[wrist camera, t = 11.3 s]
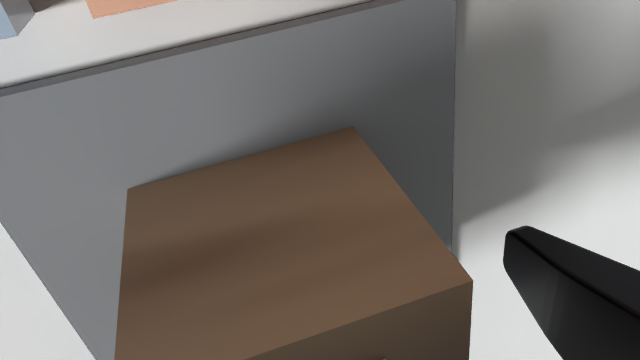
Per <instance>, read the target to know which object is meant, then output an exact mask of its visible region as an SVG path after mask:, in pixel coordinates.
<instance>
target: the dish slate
mask: <svg viewBox="0 0 640 360" xmlns="http://www.w3.org/2000/svg"><path fill="white" fill-rule="evenodd" d="M34 15H35V13H34V11H33V9H32V7H31V5H30V3H29V0H0V39H5V38H9V37H14V36H18V34H19V33H20V32H21V31H22V29H23V28H24V27H25V26H26V25H27V23H28V22H29V21H30V20H31V18H32V17H33V16H34Z"/></svg>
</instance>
